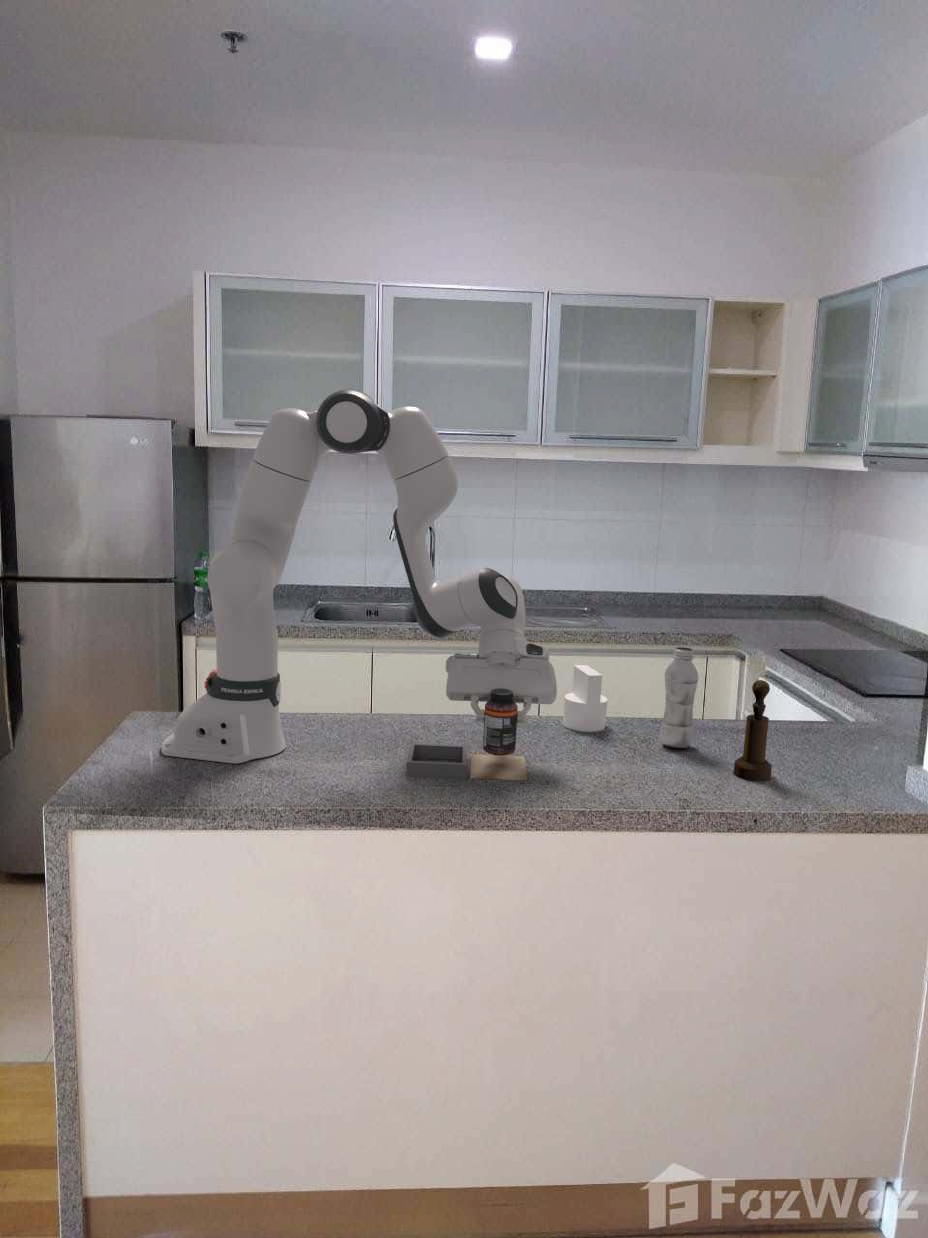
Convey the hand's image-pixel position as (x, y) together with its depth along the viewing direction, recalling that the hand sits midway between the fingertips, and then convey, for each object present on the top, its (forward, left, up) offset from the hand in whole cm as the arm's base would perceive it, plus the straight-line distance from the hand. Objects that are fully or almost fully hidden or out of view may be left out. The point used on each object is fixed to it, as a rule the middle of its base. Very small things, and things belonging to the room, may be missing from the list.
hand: (500, 721), depth 171 cm
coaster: (0, +1, -9) cm, 9 cm away
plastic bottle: (+36, +19, -10) cm, 42 cm away
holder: (-11, +1, -9) cm, 14 cm away
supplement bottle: (0, +1, -6) cm, 6 cm away
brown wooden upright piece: (+47, +4, -10) cm, 48 cm away
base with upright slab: (+19, +31, -10) cm, 37 cm away
